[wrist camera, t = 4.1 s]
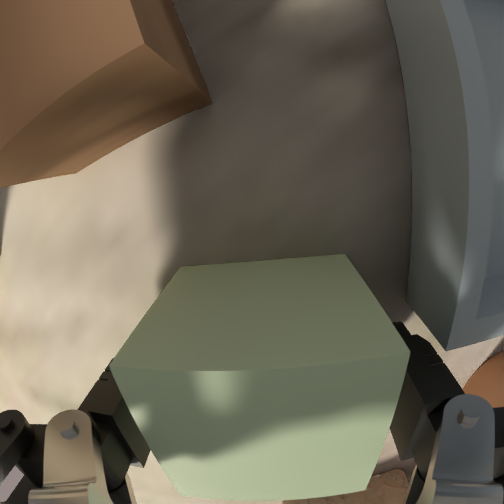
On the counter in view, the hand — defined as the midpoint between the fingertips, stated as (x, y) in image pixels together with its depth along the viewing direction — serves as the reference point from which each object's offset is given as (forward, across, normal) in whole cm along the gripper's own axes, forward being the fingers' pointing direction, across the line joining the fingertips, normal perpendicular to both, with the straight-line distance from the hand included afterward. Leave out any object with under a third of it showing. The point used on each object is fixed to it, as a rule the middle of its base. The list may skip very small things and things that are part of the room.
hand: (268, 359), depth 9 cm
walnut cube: (+1, +4, -9) cm, 10 cm away
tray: (+1, -11, -7) cm, 13 cm away
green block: (+1, 0, 0) cm, 1 cm away
